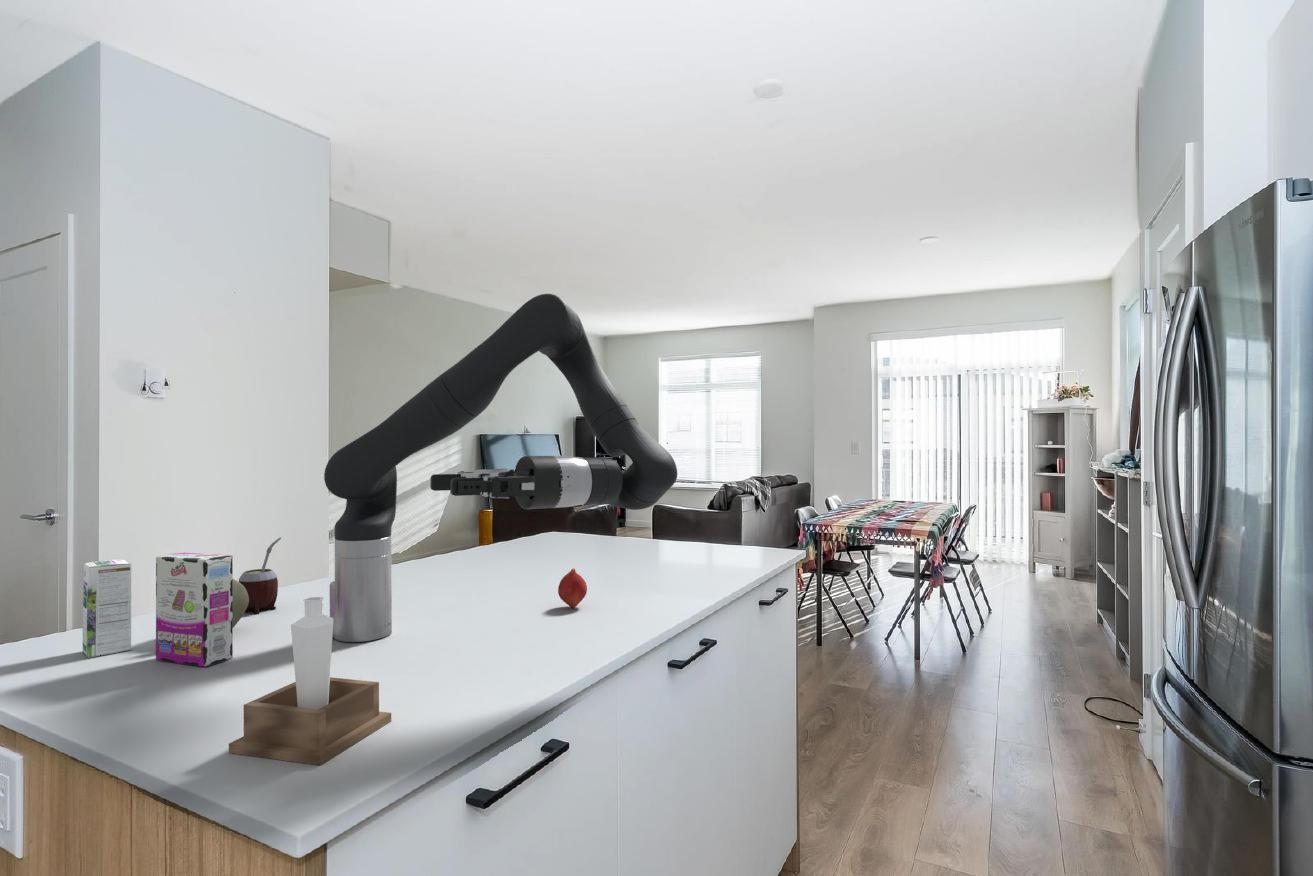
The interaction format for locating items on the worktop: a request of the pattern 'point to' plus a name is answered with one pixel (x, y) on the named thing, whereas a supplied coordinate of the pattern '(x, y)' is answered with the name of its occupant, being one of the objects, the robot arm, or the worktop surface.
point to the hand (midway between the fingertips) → (440, 484)
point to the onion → (572, 588)
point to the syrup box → (107, 607)
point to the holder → (310, 723)
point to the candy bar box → (194, 608)
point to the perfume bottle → (312, 655)
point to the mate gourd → (261, 586)
